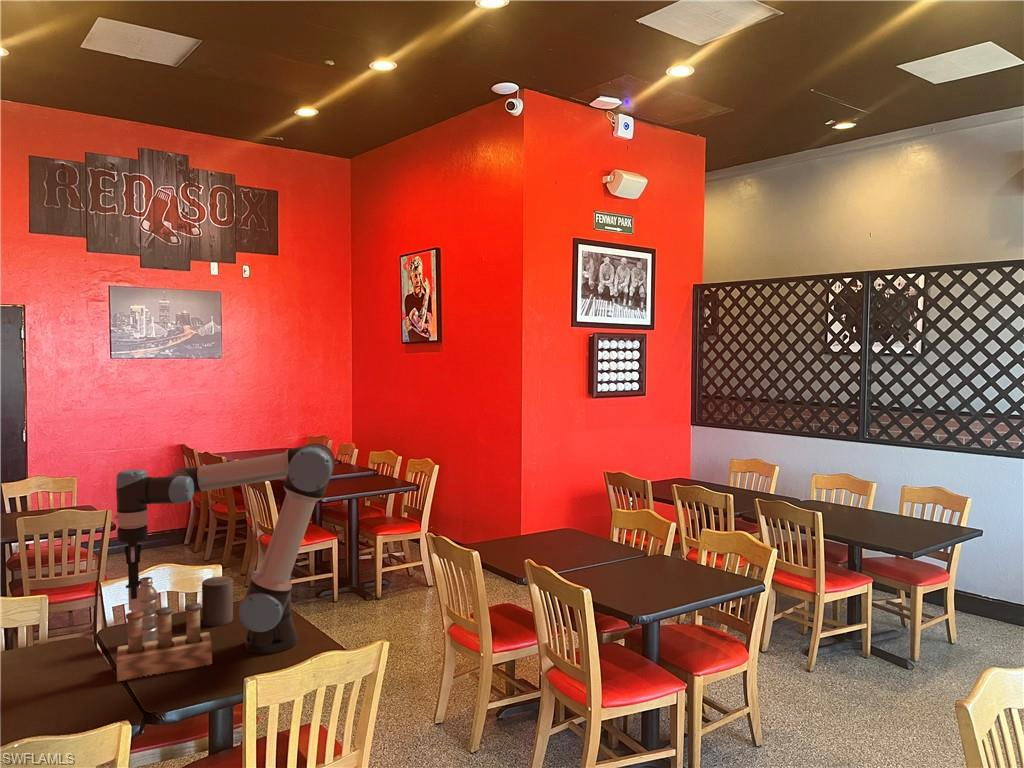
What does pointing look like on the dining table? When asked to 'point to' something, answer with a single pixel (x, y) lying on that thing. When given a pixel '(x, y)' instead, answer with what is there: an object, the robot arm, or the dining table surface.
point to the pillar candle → (217, 601)
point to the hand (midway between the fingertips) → (134, 608)
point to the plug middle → (164, 627)
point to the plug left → (193, 622)
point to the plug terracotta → (135, 632)
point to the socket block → (164, 657)
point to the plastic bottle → (148, 609)
